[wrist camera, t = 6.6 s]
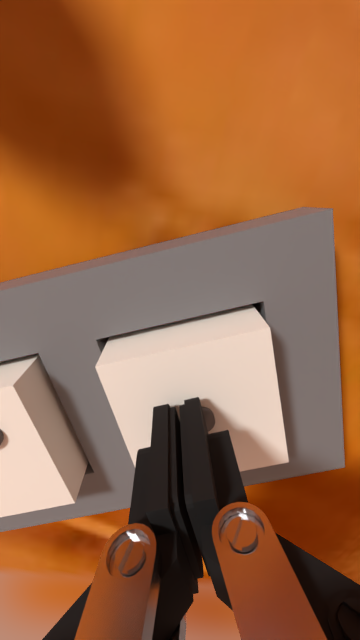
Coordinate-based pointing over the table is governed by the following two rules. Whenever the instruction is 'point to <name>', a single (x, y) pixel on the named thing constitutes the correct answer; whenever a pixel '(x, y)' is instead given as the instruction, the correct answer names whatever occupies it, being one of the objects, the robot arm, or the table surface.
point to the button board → (178, 304)
